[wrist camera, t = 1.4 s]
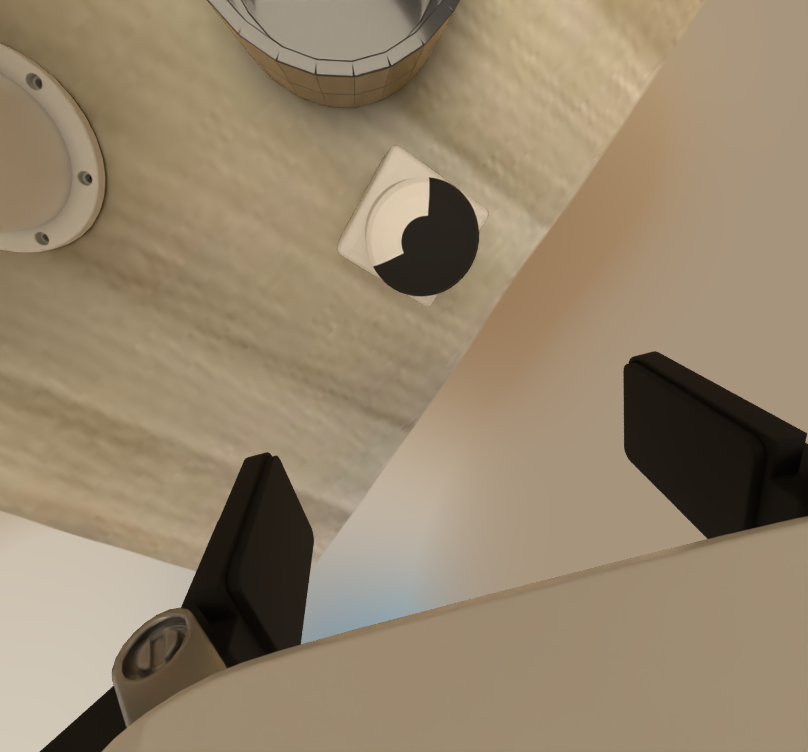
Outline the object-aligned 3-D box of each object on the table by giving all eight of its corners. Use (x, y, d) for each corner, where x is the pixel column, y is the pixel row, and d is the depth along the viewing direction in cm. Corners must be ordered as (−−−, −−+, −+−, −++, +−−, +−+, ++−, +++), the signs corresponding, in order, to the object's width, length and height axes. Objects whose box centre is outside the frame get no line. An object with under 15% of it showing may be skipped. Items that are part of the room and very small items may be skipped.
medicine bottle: (465, 207, 32) (520, 217, 21) (415, 286, 34) (443, 332, 23) (386, 151, 30) (403, 130, 19) (339, 239, 32) (330, 265, 21)
